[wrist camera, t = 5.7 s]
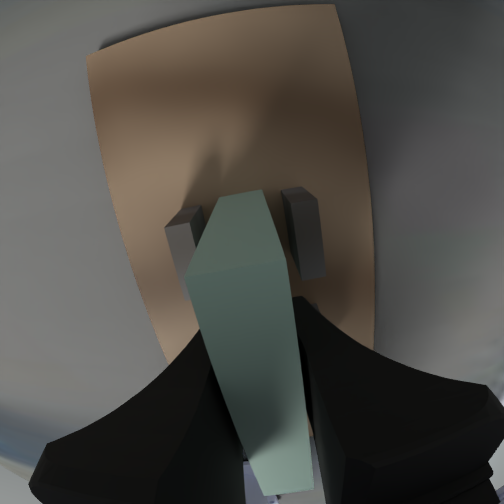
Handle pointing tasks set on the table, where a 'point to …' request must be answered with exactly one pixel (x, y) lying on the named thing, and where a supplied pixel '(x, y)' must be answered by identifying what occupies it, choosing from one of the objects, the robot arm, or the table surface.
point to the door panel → (253, 338)
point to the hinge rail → (239, 155)
